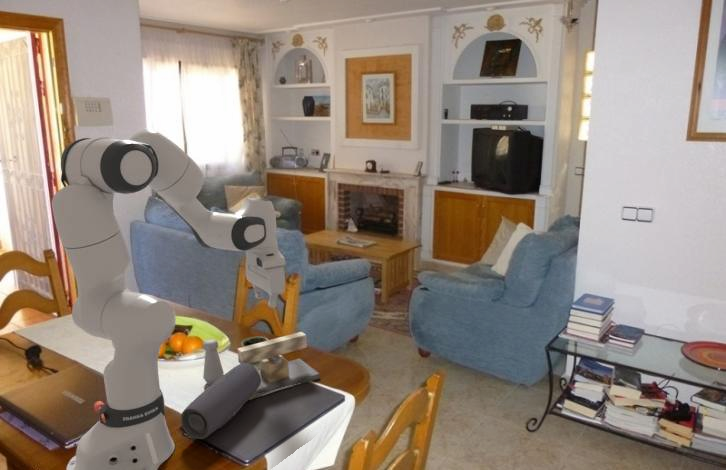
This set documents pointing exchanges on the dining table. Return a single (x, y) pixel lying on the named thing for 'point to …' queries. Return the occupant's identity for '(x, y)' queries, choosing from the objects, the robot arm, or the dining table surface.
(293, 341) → the birch batten
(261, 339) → the vessel
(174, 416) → the dining table surface
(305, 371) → the ridge stand
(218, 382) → the bluetooth speaker
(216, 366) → the salt shaker
